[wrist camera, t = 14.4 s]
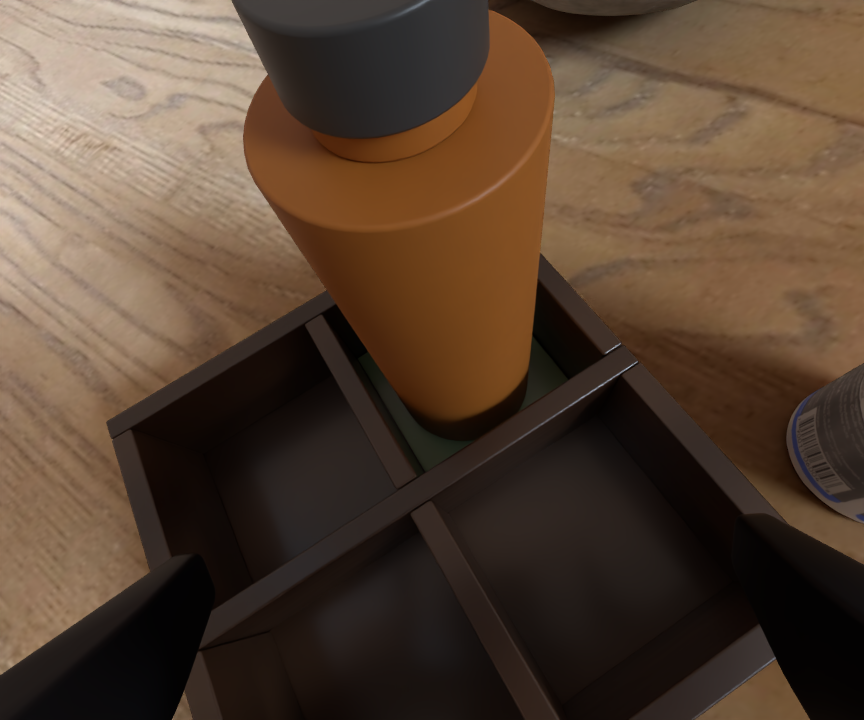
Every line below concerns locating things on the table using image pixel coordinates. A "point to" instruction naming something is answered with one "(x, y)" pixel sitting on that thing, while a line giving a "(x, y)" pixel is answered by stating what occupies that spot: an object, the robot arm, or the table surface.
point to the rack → (445, 534)
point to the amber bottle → (412, 185)
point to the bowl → (612, 6)
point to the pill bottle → (832, 443)
